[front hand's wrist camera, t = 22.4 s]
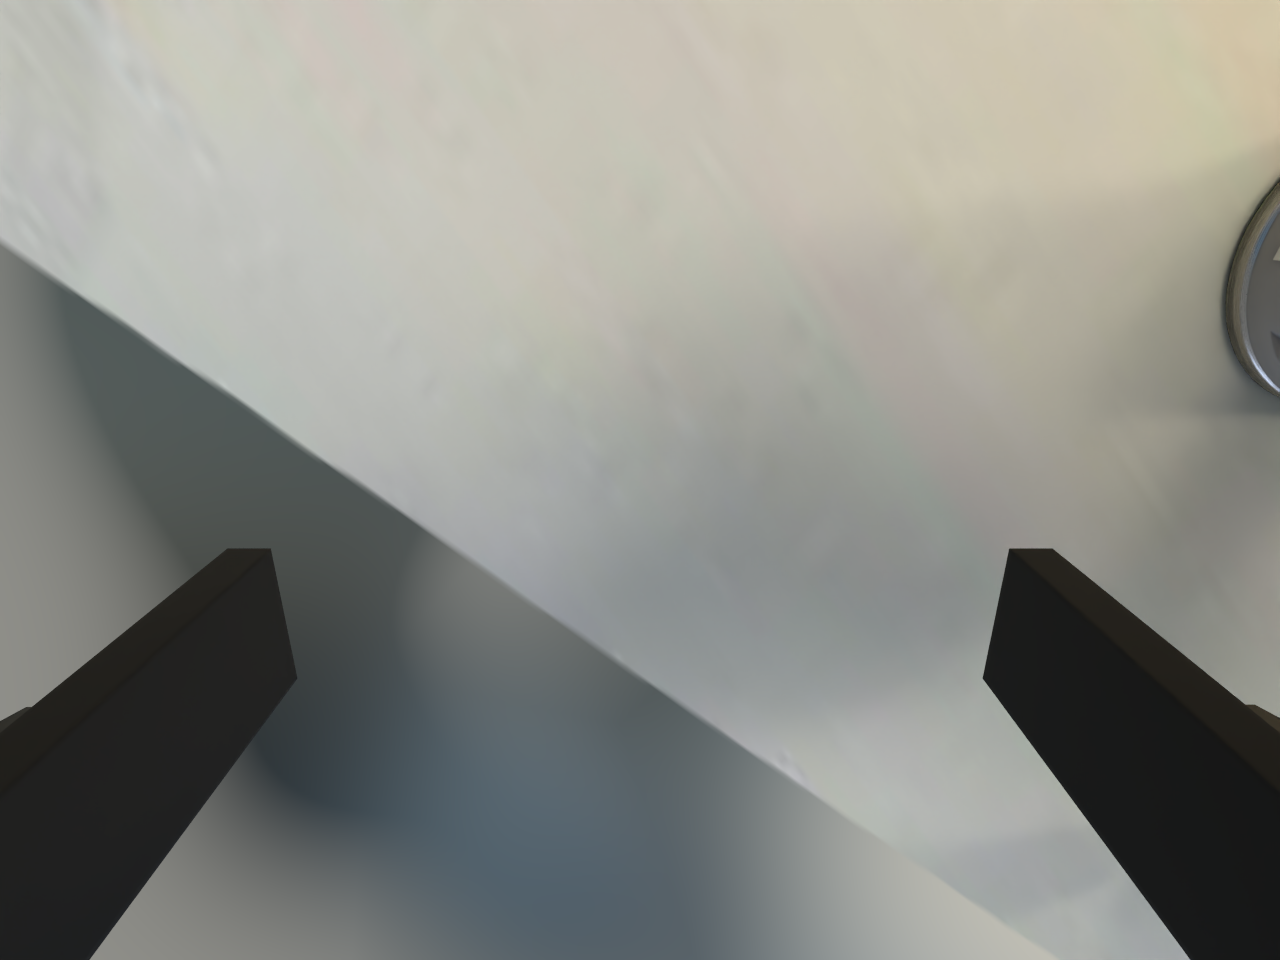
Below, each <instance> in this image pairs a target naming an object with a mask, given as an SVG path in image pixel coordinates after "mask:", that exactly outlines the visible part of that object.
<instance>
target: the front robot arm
mask: <svg viewBox="0 0 1280 960" xmlns="http://www.w3.org/2000/svg"><path fill="white" fill-rule="evenodd" d="M1226 320H1227V329H1228V333H1229V337H1230V341H1231V344H1232V347H1233V349H1234V352H1235V354H1236V356H1237V358H1238V360H1239V362H1240V363H1241V365H1242V366H1243V368H1244V369H1245V371H1246V372H1247V373H1248V374H1249V375H1250V376H1251V377H1252V379H1253V380H1254V381H1255V382H1257V383H1258V384H1259V385H1260V386H1261V387H1263V388H1264V389H1266V390H1267V391H1269V392H1270V393H1272V394H1274V395H1276V396H1278V397H1280V182H1279V183H1278V184H1277V185H1276V186H1275V188H1274V189H1273V190H1272V191H1271V193H1270V194H1269V195H1268V196H1267V198H1266V199H1265V200H1264V202H1263V203H1262V205H1261V206H1260V208H1259V209H1258V211H1257V212H1256V214H1255V215H1254V217H1253V219H1252V221H1251V222H1250V224H1249V226H1248V228H1247V229H1246V232H1245V234H1244V236H1243V238H1242V240H1241V242H1240V244H1239V247H1238V250H1237V252H1236V255H1235V258H1234V261H1233V264H1232V268H1231V271H1230V276H1229V281H1228V286H1227V295H1226ZM296 679H297V675H296V670H295V665H294V660H293V655H292V650H291V645H290V641H289V636H288V631H287V626H286V621H285V616H284V611H283V607H282V602H281V597H280V592H279V587H278V582H277V577H276V572H275V567H274V563H273V558H272V553H271V549H226V550H225V551H224V552H223V553H221V554H220V555H219V556H218V557H217V558H215V559H214V560H213V561H212V562H210V563H209V564H208V565H207V566H205V567H204V568H203V569H202V570H200V571H199V572H198V573H197V574H196V575H194V576H193V577H192V578H191V579H189V580H188V581H187V582H186V583H185V584H183V585H182V586H181V587H180V588H178V589H177V590H176V591H175V592H173V593H172V594H171V595H170V596H168V597H167V598H166V599H165V600H163V601H162V602H161V603H160V604H159V605H157V606H156V607H155V608H154V609H152V610H151V611H150V612H149V613H147V614H146V615H145V616H144V617H143V618H141V619H140V620H139V621H138V622H136V623H135V624H134V625H133V626H131V627H130V628H129V629H128V630H126V631H125V632H124V633H123V634H122V635H120V636H119V637H118V638H117V639H115V640H114V641H113V642H112V643H110V644H109V645H108V646H107V647H106V648H104V649H103V650H102V651H100V652H99V653H98V654H97V655H96V656H94V657H93V658H92V659H91V660H89V661H88V662H87V663H86V664H84V665H83V666H82V667H81V668H80V669H78V670H77V671H76V672H75V673H73V674H72V675H71V676H70V677H68V678H67V679H66V680H65V681H64V682H62V683H61V684H60V685H59V686H57V687H56V688H55V689H54V690H52V691H51V692H50V693H49V694H47V695H46V696H45V697H44V698H42V699H41V700H40V701H39V702H38V703H36V704H35V705H34V706H33V707H26V708H24V709H22V710H20V711H18V712H16V713H15V714H13V715H11V716H9V717H7V718H5V719H3V720H2V721H0V960H90V958H91V957H92V956H93V954H94V953H95V951H96V950H97V949H98V947H99V946H100V945H101V943H102V942H103V941H104V939H105V938H106V937H107V935H108V934H109V932H110V931H111V930H112V928H113V927H114V926H115V924H116V923H117V922H118V920H119V919H120V918H121V916H122V915H123V914H124V912H125V911H126V910H127V908H128V907H129V905H130V904H131V903H132V901H133V900H134V899H135V897H136V896H137V895H138V893H139V892H140V891H141V889H142V888H143V887H144V885H145V884H146V882H147V881H148V880H149V878H150V877H151V876H152V874H153V873H154V872H155V870H156V869H157V868H158V866H159V865H160V863H161V862H162V861H163V859H164V858H165V857H166V855H167V854H168V853H169V851H170V850H171V849H172V847H173V846H174V844H175V843H176V842H177V840H178V839H179V838H180V836H181V835H182V834H183V832H184V831H185V830H186V828H187V827H188V826H189V824H190V823H191V821H192V820H193V819H194V817H195V816H196V815H197V813H198V812H199V811H200V809H201V808H202V807H203V805H204V804H205V803H206V801H207V800H208V799H209V797H210V796H211V794H212V793H213V792H214V790H215V789H216V788H217V786H218V785H219V784H220V782H221V781H222V779H223V778H224V777H225V776H226V774H227V773H228V771H229V770H230V769H231V767H232V766H233V765H234V763H235V762H236V761H237V759H238V758H239V757H240V755H241V754H242V752H243V751H244V750H245V748H246V747H247V746H248V744H249V743H250V742H251V740H252V739H253V738H254V736H255V735H256V734H257V732H258V731H259V729H260V728H261V727H262V725H263V724H264V723H265V721H266V720H267V719H268V717H269V716H270V715H271V713H272V712H273V710H274V709H275V708H276V706H277V705H278V704H279V702H280V701H281V700H282V698H283V697H284V696H285V694H286V693H287V691H288V690H289V689H290V688H291V686H292V685H293V683H294V682H295V681H296ZM983 679H984V681H985V682H986V683H987V685H988V686H989V688H990V689H991V690H992V692H993V693H994V694H995V696H996V697H997V698H998V700H999V701H1000V702H1001V704H1002V705H1003V706H1004V708H1005V709H1006V711H1007V712H1008V713H1009V715H1010V716H1011V717H1012V719H1013V720H1014V721H1015V723H1016V724H1017V725H1018V727H1019V728H1020V730H1021V731H1022V732H1023V734H1024V735H1025V736H1026V738H1027V739H1028V740H1029V742H1030V743H1031V744H1032V746H1033V747H1034V748H1035V750H1036V751H1037V753H1038V754H1039V755H1040V757H1041V758H1042V759H1043V761H1044V762H1045V763H1046V765H1047V766H1048V767H1049V769H1050V770H1051V771H1052V773H1053V774H1054V776H1055V777H1056V778H1057V780H1058V781H1059V782H1060V784H1061V785H1062V786H1063V788H1064V789H1065V790H1066V792H1067V793H1068V794H1069V796H1070V797H1071V799H1072V800H1073V801H1074V803H1075V804H1076V805H1077V807H1078V808H1079V809H1080V811H1081V812H1082V813H1083V815H1084V816H1085V817H1086V819H1087V820H1088V822H1089V823H1090V824H1091V826H1092V827H1093V828H1094V830H1095V831H1096V832H1097V834H1098V835H1099V836H1100V838H1101V839H1102V841H1103V842H1104V843H1105V845H1106V846H1107V847H1108V849H1109V850H1110V851H1111V853H1112V854H1113V855H1114V857H1115V858H1116V859H1117V861H1118V862H1119V864H1120V865H1121V866H1122V868H1123V869H1124V870H1125V872H1126V873H1127V874H1128V876H1129V877H1130V878H1131V880H1132V881H1133V882H1134V884H1135V885H1136V887H1137V888H1138V889H1139V891H1140V892H1141V893H1142V895H1143V896H1144V897H1145V899H1146V900H1147V901H1148V903H1149V904H1150V905H1151V907H1152V908H1153V910H1154V911H1155V912H1156V914H1157V915H1158V916H1159V918H1160V919H1161V920H1162V922H1163V923H1164V924H1165V926H1166V927H1167V928H1168V930H1169V931H1170V933H1171V934H1172V935H1173V937H1174V938H1175V939H1176V941H1177V942H1178V943H1179V945H1180V946H1181V947H1182V949H1183V950H1184V951H1185V953H1186V954H1187V956H1188V957H1189V958H1190V960H1280V718H1279V717H1277V716H1275V715H1273V714H1271V713H1269V712H1267V711H1266V710H1264V709H1262V708H1260V707H1258V706H1256V705H1245V704H1244V703H1242V702H1241V701H1240V700H1239V699H1238V698H1236V697H1235V696H1234V695H1233V694H1231V693H1230V692H1229V691H1228V690H1226V689H1225V688H1224V687H1223V686H1221V685H1220V684H1219V683H1218V682H1217V681H1215V680H1214V679H1213V678H1212V677H1210V676H1209V675H1208V674H1207V673H1205V672H1204V671H1203V670H1202V669H1200V668H1199V667H1198V666H1197V665H1196V664H1194V663H1193V662H1192V661H1191V660H1189V659H1188V658H1187V657H1186V656H1184V655H1183V654H1182V653H1181V652H1180V651H1178V650H1177V649H1176V648H1175V647H1173V646H1172V645H1171V644H1170V643H1168V642H1167V641H1166V640H1165V639H1163V638H1162V637H1161V636H1160V635H1159V634H1157V633H1156V632H1155V631H1154V630H1152V629H1151V628H1150V627H1149V626H1147V625H1146V624H1145V623H1144V622H1142V621H1141V620H1140V619H1139V618H1138V617H1136V616H1135V615H1134V614H1133V613H1131V612H1130V611H1129V610H1128V609H1126V608H1125V607H1124V606H1123V605H1121V604H1120V603H1119V602H1118V601H1117V600H1115V599H1114V598H1113V597H1112V596H1110V595H1109V594H1108V593H1107V592H1105V591H1104V590H1103V589H1102V588H1100V587H1099V586H1098V585H1097V584H1096V583H1094V582H1093V581H1092V580H1091V579H1089V578H1088V577H1087V576H1086V575H1084V574H1083V573H1082V572H1081V571H1080V570H1078V569H1077V568H1076V567H1075V566H1073V565H1072V564H1071V563H1070V562H1068V561H1067V560H1066V559H1065V558H1063V557H1062V556H1061V555H1060V554H1059V553H1057V552H1056V551H1055V550H1054V549H1009V553H1008V558H1007V563H1006V567H1005V572H1004V577H1003V582H1002V587H1001V592H1000V597H999V601H998V606H997V611H996V616H995V621H994V626H993V631H992V636H991V640H990V645H989V650H988V655H987V660H986V665H985V670H984V675H983Z"/></svg>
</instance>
